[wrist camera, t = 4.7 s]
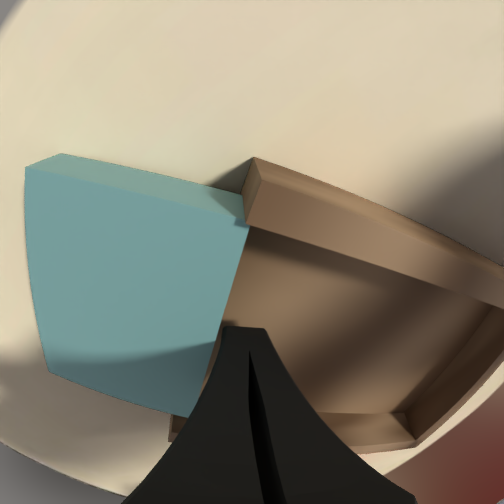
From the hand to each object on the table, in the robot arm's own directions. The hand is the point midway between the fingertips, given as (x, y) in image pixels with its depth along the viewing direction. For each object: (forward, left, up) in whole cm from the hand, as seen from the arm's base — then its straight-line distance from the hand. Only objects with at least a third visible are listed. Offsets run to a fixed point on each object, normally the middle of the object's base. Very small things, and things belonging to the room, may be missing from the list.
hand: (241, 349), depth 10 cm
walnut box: (-5, 0, -1) cm, 5 cm away
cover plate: (+4, 0, -1) cm, 4 cm away
